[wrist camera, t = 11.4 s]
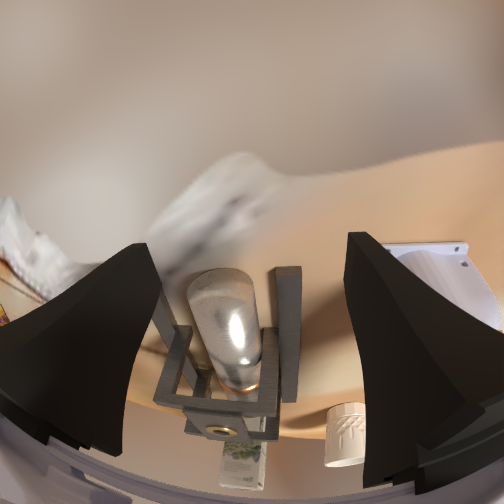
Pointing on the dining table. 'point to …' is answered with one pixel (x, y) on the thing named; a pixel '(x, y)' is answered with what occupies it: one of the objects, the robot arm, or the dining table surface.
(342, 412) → the white cup
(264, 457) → the syrup box
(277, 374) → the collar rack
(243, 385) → the steel tube
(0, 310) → the candy box
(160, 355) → the dining table surface
